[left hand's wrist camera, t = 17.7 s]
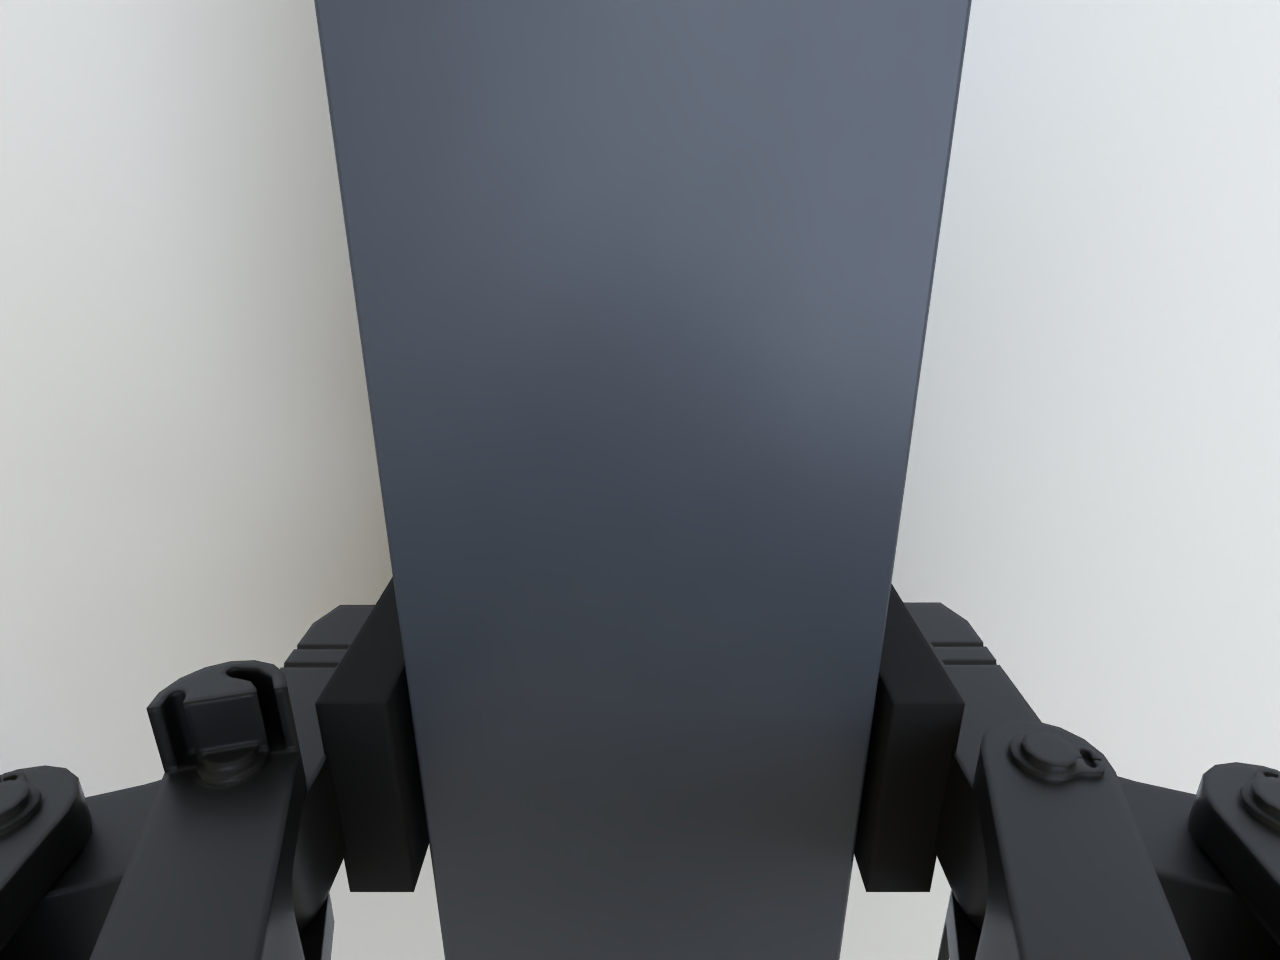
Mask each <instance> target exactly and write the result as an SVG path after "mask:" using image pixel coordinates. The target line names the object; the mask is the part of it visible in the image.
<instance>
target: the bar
mask: <svg viewBox="0 0 1280 960" xmlns="http://www.w3.org/2000/svg"><path fill="white" fill-rule="evenodd" d="M314 1H315V8H316V16H317V23H318V30H319V38H320V45H321V52H322V60H323V67H324V74H325V82H326V89H327V96H328V104H329V111H330V118H331V126H332V133H333V140H334V148H335V155H336V162H337V170H338V177H339V184H340V192H341V199H342V206H343V214H344V221H345V228H346V236H347V243H348V250H349V258H350V265H351V272H352V280H353V287H354V294H355V302H356V309H357V316H358V324H359V331H360V338H361V346H362V353H363V360H364V368H365V375H366V382H367V390H368V397H369V404H370V412H371V419H372V426H373V433H374V441H375V448H376V455H377V463H378V470H379V477H380V485H381V492H382V499H383V507H384V514H385V521H386V529H387V536H388V543H389V551H390V558H391V565H392V573H393V580H394V587H395V595H396V602H397V609H398V617H399V624H400V631H401V639H402V646H403V653H404V661H405V668H406V675H407V683H408V690H409V697H410V705H411V712H412V719H413V727H414V734H415V741H416V749H417V756H418V763H419V771H420V778H421V785H422V793H423V800H424V807H425V815H426V822H427V829H428V837H429V844H430V851H431V859H432V866H433V873H434V881H435V888H436V895H437V903H438V910H439V917H440V925H441V932H442V939H443V947H444V954H445V960H839V958H840V951H841V944H842V937H843V929H844V922H845V915H846V908H847V900H848V893H849V886H850V879H851V871H852V864H853V857H854V850H855V842H856V835H857V828H858V821H859V813H860V806H861V799H862V792H863V784H864V777H865V770H866V763H867V755H868V748H869V741H870V734H871V726H872V719H873V712H874V705H875V697H876V690H877V683H878V676H879V668H880V661H881V654H882V647H883V639H884V632H885V625H886V617H887V610H888V603H889V596H890V588H891V581H892V574H893V567H894V559H895V552H896V545H897V538H898V530H899V523H900V516H901V509H902V501H903V494H904V487H905V480H906V472H907V465H908V458H909V451H910V443H911V436H912V429H913V422H914V414H915V407H916V400H917V393H918V385H919V378H920V371H921V364H922V356H923V349H924V342H925V335H926V327H927V320H928V313H929V306H930V298H931V291H932V284H933V277H934V269H935V262H936V255H937V248H938V240H939V233H940V226H941V219H942V211H943V204H944V197H945V190H946V182H947V175H948V168H949V161H950V153H951V146H952V139H953V132H954V124H955V117H956V110H957V103H958V95H959V88H960V81H961V74H962V66H963V59H964V52H965V45H966V37H967V30H968V23H969V16H970V8H971V1H972V0H314Z"/></svg>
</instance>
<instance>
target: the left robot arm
mask: <svg viewBox="0 0 1280 960" xmlns="http://www.w3.org/2000/svg"><path fill="white" fill-rule="evenodd" d="M147 712H148V715H149V719H150V722H151V726H152V729H153V733H154V736H155V740H156V743H157V747H158V750H159V754H160V757H161V761H162V764H163V768H164V771H165V774H164V776H163V778H162V780H159V781H156V782H152V783H149V784H145V785H141V786H137V787H132V788H127V789H123V790H118V791H114V792H109V793H105V794H100V795H96V796H91V797H87V798H85V797H84V794H83V791H82V788H81V785H80V782H79V779H78V777H77V776H75V775H74V774H73V773H71V772H70V771H69V770H68V769H66V768H60V767H52V766H39V767H32V768H25V769H18V770H15V771H12V772H8V773H4V774H3V775H0V960H331V951H332V940H333V930H334V917H333V911H332V905H331V900H330V895H329V891H330V888H331V886H332V884H333V882H334V879H335V877H336V875H337V872H338V870H339V868H340V865H341V863H342V861H343V858H344V861H345V867H346V872H347V877H348V883H349V888H350V892H414V889H415V886H416V883H417V880H418V877H419V874H420V870H421V867H422V864H423V861H424V858H425V855H426V851H427V848H428V845H429V837H428V829H427V822H426V815H425V807H424V800H423V793H422V785H421V778H420V771H419V763H418V756H417V749H416V741H415V734H414V727H413V719H412V712H411V705H410V697H409V690H408V683H407V675H406V668H405V661H404V653H403V646H402V639H401V631H400V624H399V617H398V609H397V602H396V595H395V587H394V580H393V577H392V579H391V580H390V582H389V584H388V585H387V587H386V589H385V590H384V592H383V594H382V595H381V597H380V598H379V600H378V602H377V603H376V605H340V606H338V607H337V608H335V609H334V610H332V611H331V612H329V613H328V614H326V615H325V616H323V617H322V618H320V619H319V620H318V621H316V622H315V623H313V624H312V626H311V627H310V628H309V630H308V631H307V633H306V634H305V635H304V637H303V638H302V639H301V641H300V642H299V644H298V645H297V649H294V650H293V652H292V653H291V655H290V656H289V657H288V659H287V660H286V661H285V663H284V668H280V669H279V668H277V667H276V666H275V665H274V664H269V663H265V662H260V661H256V660H250V661H230V662H226V663H222V664H218V665H214V666H209V667H205V668H203V669H200V670H198V671H196V672H193V673H191V674H189V675H186V676H184V677H182V678H180V679H178V680H177V681H175V682H174V683H172V684H171V685H169V686H168V687H167V688H165V689H164V690H162V691H161V692H159V693H158V695H157V696H156V697H155V698H154V700H153V701H152V702H151V703H150V705H149V706H148V707H147ZM854 855H855V858H856V861H857V864H858V867H859V870H860V874H861V877H862V880H863V883H864V886H865V889H866V892H930V888H931V883H932V877H933V872H934V867H935V862H936V856H937V857H938V859H939V862H940V864H941V866H942V868H943V871H944V873H945V875H946V878H947V880H948V882H949V884H950V887H951V889H952V890H951V895H950V900H949V905H948V910H947V915H946V919H945V924H944V929H943V934H942V939H941V944H940V949H939V955H938V960H949V959H950V960H1280V771H1278V770H1275V769H1271V768H1268V767H1265V766H1258V765H1251V764H1244V763H1237V762H1235V763H1227V764H1220V765H1215V766H1213V767H1212V768H1211V769H1209V770H1208V771H1207V772H1205V773H1204V774H1203V776H1202V779H1201V782H1200V785H1199V788H1198V791H1197V794H1196V795H1195V794H1190V793H1186V792H1181V791H1177V790H1172V789H1167V788H1163V787H1158V786H1154V785H1149V784H1145V783H1140V782H1136V781H1132V780H1129V779H1125V778H1122V777H1118V776H1117V775H1116V772H1115V771H1114V769H1113V768H1112V766H1111V765H1110V763H1109V762H1108V760H1107V759H1106V757H1105V756H1104V755H1103V754H1102V753H1101V752H1100V751H1098V750H1097V749H1096V748H1095V747H1093V746H1092V745H1091V744H1089V743H1088V742H1087V741H1086V740H1084V739H1082V738H1080V737H1078V736H1076V735H1074V734H1072V733H1070V732H1068V731H1066V730H1064V729H1062V728H1060V727H1056V726H1052V725H1049V724H1045V723H1042V722H1041V721H1040V719H1039V718H1038V717H1037V715H1036V714H1035V713H1034V711H1033V710H1032V709H1031V707H1030V706H1029V704H1028V703H1027V702H1026V700H1025V699H1024V698H1023V696H1022V695H1021V693H1020V692H1019V691H1018V689H1017V688H1016V687H1015V685H1014V684H1013V683H1012V681H1011V680H1010V678H1009V677H1008V676H1007V674H1006V673H1005V672H1004V670H1003V669H1002V668H1001V666H1000V665H997V664H996V659H995V658H994V657H993V655H992V654H991V653H990V651H989V650H988V648H987V647H983V642H982V640H981V639H980V638H979V636H978V635H977V633H976V632H975V631H974V629H973V628H972V627H971V625H970V624H969V623H968V621H967V620H965V619H964V618H962V617H961V616H959V615H958V614H956V613H955V612H953V611H952V610H950V609H949V608H947V607H946V606H944V605H943V604H941V603H903V602H902V600H901V598H900V597H899V595H898V593H897V592H896V590H895V589H894V587H893V585H892V584H891V588H890V596H889V603H888V610H887V617H886V625H885V632H884V639H883V647H882V654H881V661H880V668H879V676H878V683H877V690H876V697H875V705H874V712H873V719H872V726H871V734H870V741H869V748H868V755H867V763H866V770H865V777H864V784H863V792H862V799H861V806H860V813H859V821H858V828H857V835H856V842H855V850H854Z"/></svg>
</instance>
